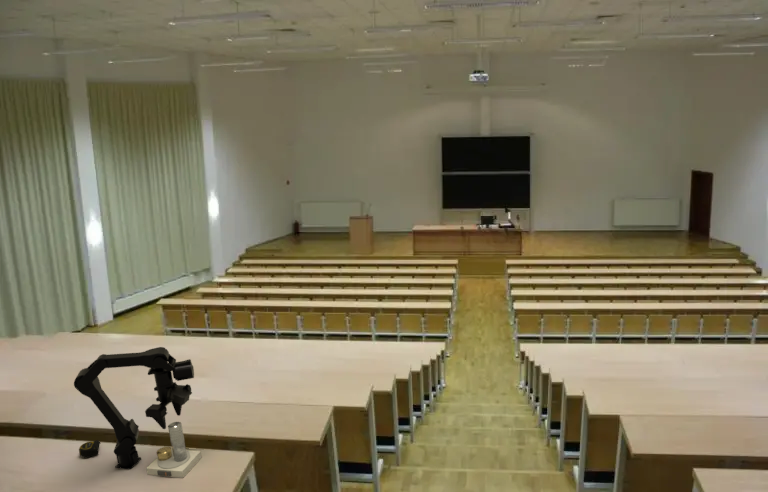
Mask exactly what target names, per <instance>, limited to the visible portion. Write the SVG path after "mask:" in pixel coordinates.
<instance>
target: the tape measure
mask: <svg viewBox="0 0 768 492" xmlns="http://www.w3.org/2000/svg"><path fill="white" fill-rule="evenodd" d="M100 445H101V441H100V440H98V439H97V440H94V441H93V440H92V441H87V442H85V443H82V444H81V445H80V446H79V448H78V452H79V453H78V454H79V455H80V457H82V458H90V457H93V456H96V455H98V454H99V449H100Z"/></svg>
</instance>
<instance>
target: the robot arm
mask: <svg viewBox="0 0 768 492" xmlns="http://www.w3.org/2000/svg"><path fill="white" fill-rule="evenodd" d="M126 367H145V368H149V369H148V371H147V375H148V376H150V375H153V376H154V381H155V382H154V383H155V387H154V388H153V389H154V392H157V398H155V401H156V402H159V404H155V403H152V404H151V405H149V406H148V407H147V408H146V409H145V411H144V412H145V417H146V418H152V419H153V420H154V421H155V422H156V423H157V424H158V425H159V427H161V429H162V430H166V429H167V423H166V422H167V421H166V416H167V414H168V412H167V411H168V410H167V407H168V405H169V404H172V407H173V409H174V412H175V413H176V415H177V417H179V416H181V414H182V408H183V405H185V404H186V403H187V402H189V400H190V396H191V395H192V394H193V392H192V387H191V385H190V384H188V383H187V384H185V385H183V384H178V383H177V382H180V381H184V380H191V379H195V369H194V365H193V363H192V359H191V358H190V359H185V360H182V361H177V359H176V358H175V357H174V356H172V355H171V354H170V353H169V351H168V349H167V348H166V347H163V346H159V347H154V348H153V347H152V348H150V349H147V350H144V351H141V352H127V353H114V354H113V353H111V354H104V353H103V354H100V355H99V356H98V357H97V358H96V359H95V360H94V361H92V362H91V363H90V364H89V365H88V366H87V367H84V368H82V369H81V370H80V371H79V372H78V374H77V375H76V377H75V379H74V382H73V386H74V388H75V389H76V391H78V392H79V393H80V394H81V395H83V396H85V397H88V398H89V399H90V400H91V401H92V402H93V404H94V405H95V406H96V408H97V409H98V410H99V411H100V413H101V414H102V416H103V417H104V418H105V419H106V421H107V422H108V424H109V425H110V426H111V427H112V429H113V431H114V435H115V439H116V444H115V446H114V449H113V453H114V455H115V456H116V461H117V464H116V465H115V469H124V470H131V469H132V468H134V466H135V465H137V464H138V463H139V462H140V461H141V460H142V457H141V456H140V457H139V453H138V450H137V446H136V443H137V440H138V437H139V432H140V429H139V427H140V426H139V425H138V424H136V422H135V420H134V419H133V418H130V420H129V419H126V418H125V417H124V416H123V415H122V414H121V412H120V411H119V410H118V408H117V407H116V405H115V404H114V403H113V401H111V399H110V398H109V396H108V395H107V393H105V391H104V390H103V388H102V385H101V382H100V379H99V377H98V376H99V375H101V373H102V372H103V371H104V370H105V369H113V368H115V369H116V368H126ZM174 379H175V381H177V382H174V381H173V380H174Z"/></svg>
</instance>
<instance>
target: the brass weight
mask: <svg viewBox="0 0 768 492" xmlns="http://www.w3.org/2000/svg"><path fill="white" fill-rule="evenodd" d="M171 449H172V447H169V446H164V447H160V448H159V449H157V451H156V455H157V457H158V460H159V461H165V460H168V459H170V458H171V457H172V452H171ZM157 457H156V458H157Z"/></svg>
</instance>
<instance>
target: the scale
mask: <svg viewBox="0 0 768 492" xmlns="http://www.w3.org/2000/svg"><path fill="white" fill-rule="evenodd" d="M171 452H172V457H171V458H170V459H168V460H165V461H159V460H158V457H156V458H155V459H154V460H153V461H152V462H151V463H150V464H149V466H147V467H146V472H147V475H148V476H157V477H158V476H159V477H168V478H169V477H171V478H181V479H184V478H185V477H186V476H187V474H188V473H189V472H190V471H191V470H192V469H193V468H194V467H195V465H196V464H197V463H198V462H199V461H200V460H201V459H202V451H201V450H189V449H186V452H187V458H186V459H185V460H184V461H181V462H176V461H174V456H173V451H172V448H171ZM200 458H201V459H200ZM199 459H200V460H199ZM198 460H199V461H198ZM197 461H198V462H197ZM192 467H193V468H192ZM183 477H184V478H183Z"/></svg>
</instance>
